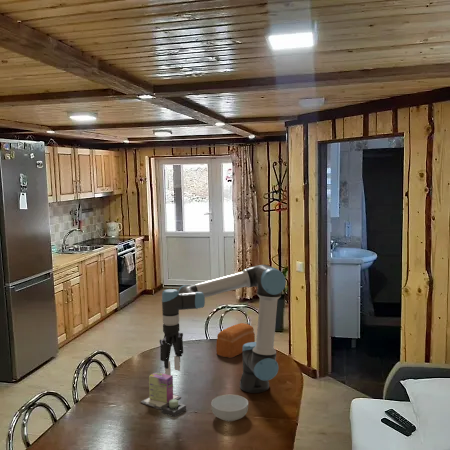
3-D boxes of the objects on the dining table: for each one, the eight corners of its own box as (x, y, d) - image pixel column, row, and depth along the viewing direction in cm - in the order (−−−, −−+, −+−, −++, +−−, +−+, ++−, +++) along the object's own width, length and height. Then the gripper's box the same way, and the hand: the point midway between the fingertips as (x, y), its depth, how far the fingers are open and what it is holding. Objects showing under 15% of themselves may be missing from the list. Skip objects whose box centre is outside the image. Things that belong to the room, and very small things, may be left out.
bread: (214, 354, 297) (213, 329, 296) (239, 342, 318) (238, 319, 317) (232, 359, 289) (231, 333, 287) (256, 346, 309) (256, 322, 308)
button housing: (186, 410, 226) (186, 405, 225) (174, 417, 219) (174, 412, 219) (173, 405, 230) (173, 400, 230) (161, 412, 224) (161, 407, 224)
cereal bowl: (236, 430, 206) (236, 414, 206) (204, 420, 215) (203, 405, 215) (255, 413, 221) (255, 398, 220) (224, 405, 230) (224, 391, 229)
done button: (180, 405, 225) (180, 400, 225) (174, 409, 222) (174, 404, 221) (173, 403, 227) (173, 398, 227) (167, 406, 224) (167, 401, 224)
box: (173, 398, 236) (172, 375, 235) (167, 403, 231) (166, 379, 230) (156, 394, 241) (155, 371, 240) (149, 399, 236) (148, 376, 235)
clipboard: (181, 397, 239) (181, 395, 238) (159, 410, 226) (159, 407, 226) (162, 391, 246) (161, 389, 246) (140, 403, 234) (140, 400, 234)
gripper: (178, 317, 231) (179, 364, 233) (150, 327, 216) (152, 377, 218) (190, 319, 226) (191, 367, 228) (162, 329, 211) (164, 381, 213)
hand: (172, 372), depth 223 cm, fingers open, 6 cm apart
